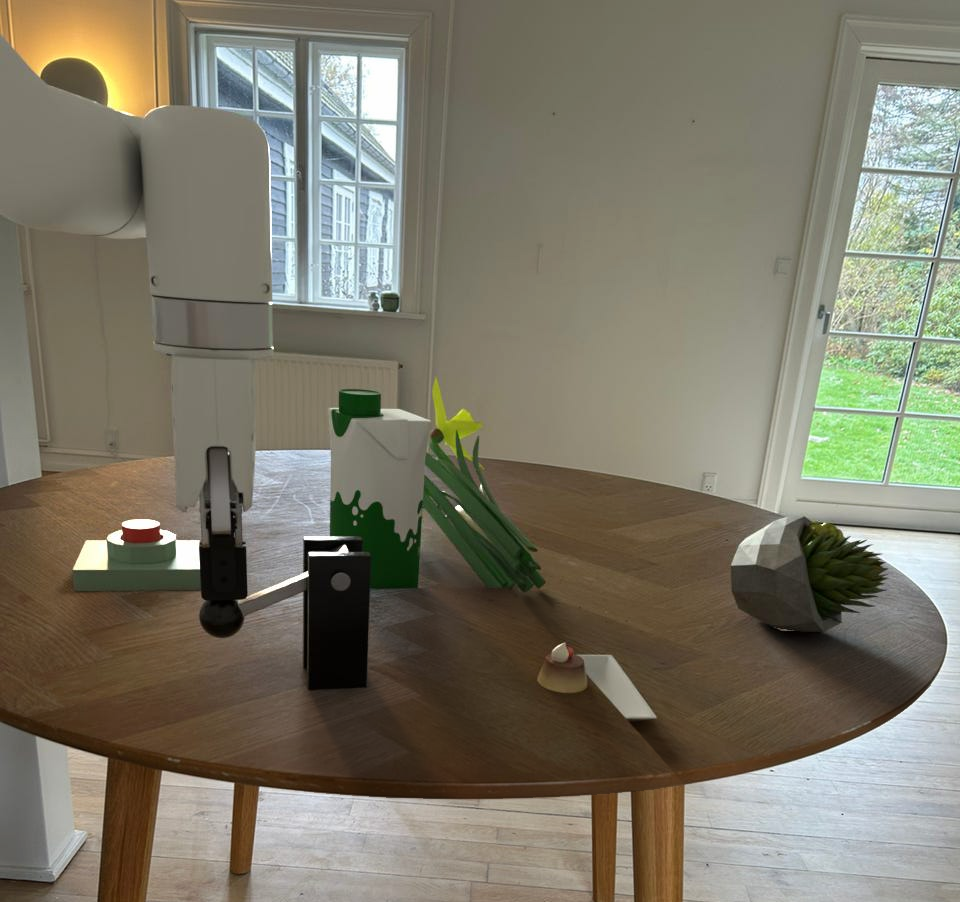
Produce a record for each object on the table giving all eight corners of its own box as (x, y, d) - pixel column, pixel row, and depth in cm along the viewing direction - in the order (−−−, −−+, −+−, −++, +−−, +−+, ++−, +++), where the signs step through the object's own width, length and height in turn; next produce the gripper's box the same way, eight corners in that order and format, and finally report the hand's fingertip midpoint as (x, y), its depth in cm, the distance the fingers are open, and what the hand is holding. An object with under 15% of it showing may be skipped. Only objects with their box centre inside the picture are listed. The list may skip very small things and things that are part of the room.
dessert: (610, 666, 78) (617, 615, 76) (655, 731, 67) (665, 674, 65) (476, 664, 76) (481, 613, 74) (501, 731, 65) (507, 672, 63)
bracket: (257, 720, 64) (254, 565, 59) (252, 669, 72) (250, 528, 67) (419, 712, 67) (428, 564, 63) (398, 663, 75) (405, 529, 71)
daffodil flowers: (425, 611, 90) (323, 453, 114) (514, 656, 100) (403, 503, 124) (533, 483, 86) (404, 347, 109) (615, 544, 96) (480, 408, 119)
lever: (211, 651, 64) (190, 614, 62) (211, 634, 67) (192, 598, 65) (364, 587, 65) (348, 549, 64) (358, 573, 68) (342, 536, 66)
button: (121, 545, 87) (119, 528, 86) (124, 535, 90) (123, 519, 90) (159, 545, 88) (158, 528, 87) (161, 535, 91) (160, 519, 91)
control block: (73, 591, 85) (69, 551, 83) (87, 560, 93) (84, 523, 92) (204, 590, 88) (203, 551, 86) (205, 559, 97) (204, 524, 95)
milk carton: (318, 578, 94) (320, 385, 86) (396, 571, 98) (404, 386, 91) (349, 606, 87) (354, 398, 79) (431, 597, 91) (443, 399, 84)
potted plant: (767, 565, 100) (911, 561, 91) (741, 659, 95) (891, 665, 86) (735, 494, 92) (889, 481, 83) (705, 592, 87) (866, 591, 78)
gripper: (159, 319, 63) (174, 565, 70) (143, 335, 50) (164, 637, 56) (267, 326, 65) (272, 564, 72) (280, 342, 52) (284, 633, 58)
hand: (224, 595), depth 64 cm, fingers closed
